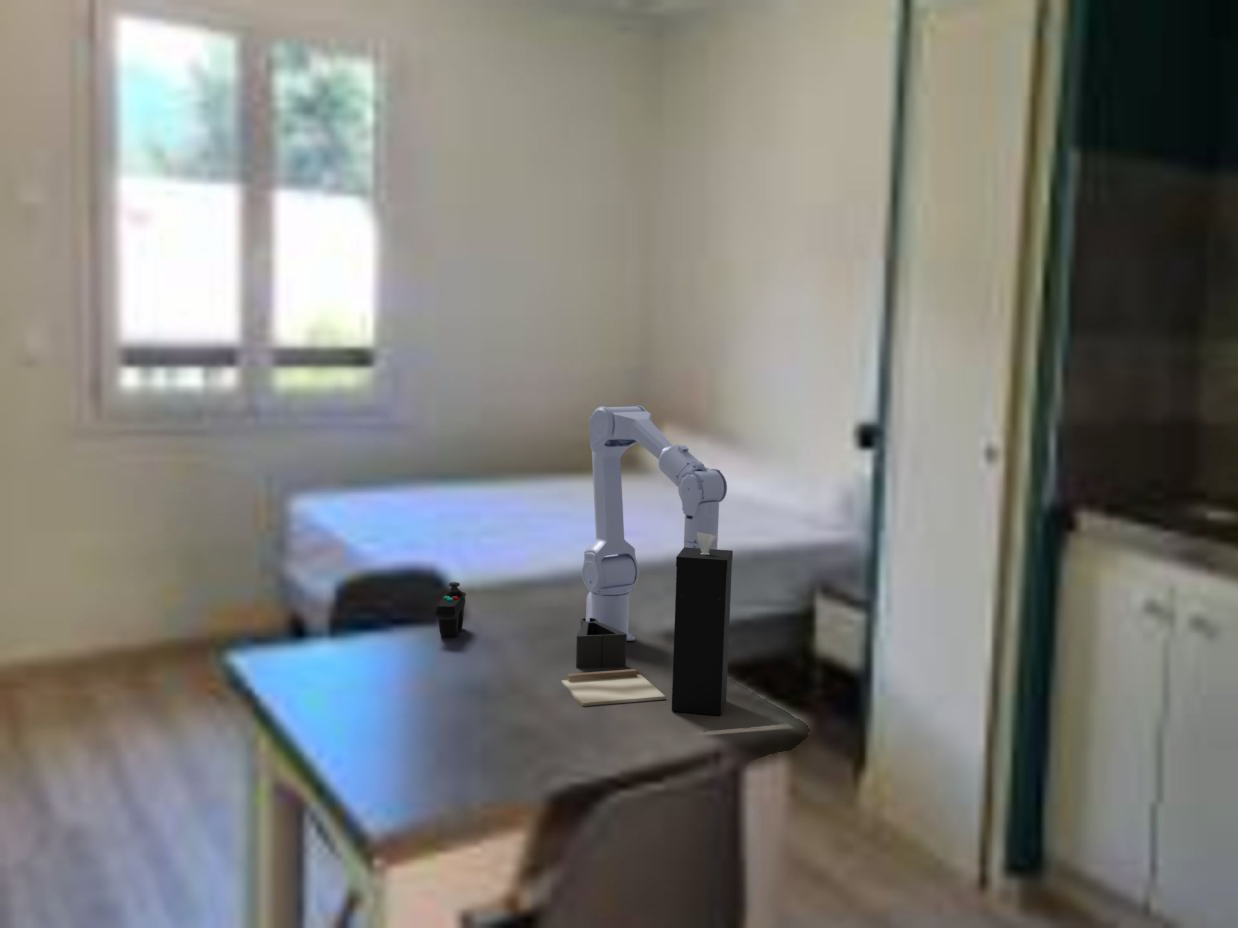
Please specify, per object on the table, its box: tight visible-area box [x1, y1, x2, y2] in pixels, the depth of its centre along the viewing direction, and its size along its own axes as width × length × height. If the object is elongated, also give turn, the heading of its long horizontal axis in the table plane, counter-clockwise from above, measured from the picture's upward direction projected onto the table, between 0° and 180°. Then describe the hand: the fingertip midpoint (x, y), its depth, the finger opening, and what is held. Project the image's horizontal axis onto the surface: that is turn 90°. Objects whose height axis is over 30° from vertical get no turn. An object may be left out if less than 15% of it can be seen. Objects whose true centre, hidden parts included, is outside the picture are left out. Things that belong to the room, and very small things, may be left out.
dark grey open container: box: [575, 617, 628, 669], centre depth 211 cm, size 9×6×12 cm
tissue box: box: [671, 532, 734, 716], centre depth 185 cm, size 8×8×28 cm
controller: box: [434, 581, 467, 638], centre depth 220 cm, size 4×12×10 cm, turn 177°
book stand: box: [561, 668, 666, 707], centre depth 193 cm, size 12×14×2 cm
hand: (697, 618), depth 202 cm, fingers closed
